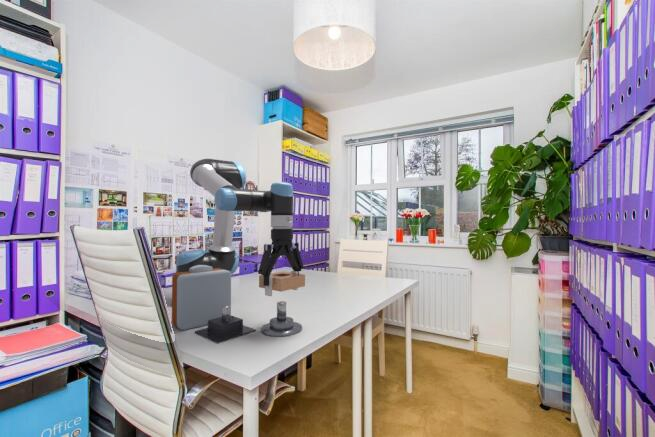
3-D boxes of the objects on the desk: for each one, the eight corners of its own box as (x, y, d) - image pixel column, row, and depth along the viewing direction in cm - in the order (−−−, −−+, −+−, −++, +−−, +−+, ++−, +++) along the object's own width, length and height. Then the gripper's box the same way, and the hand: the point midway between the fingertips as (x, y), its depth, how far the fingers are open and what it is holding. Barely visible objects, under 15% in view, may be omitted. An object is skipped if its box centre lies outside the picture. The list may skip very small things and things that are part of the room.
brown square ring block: (259, 287, 106) (259, 275, 106) (283, 282, 114) (283, 271, 114) (280, 291, 99) (280, 278, 99) (305, 286, 107) (305, 274, 107)
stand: (194, 332, 103) (194, 306, 103) (231, 322, 113) (231, 298, 114) (217, 343, 94) (217, 315, 94) (255, 331, 104) (255, 305, 105)
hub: (252, 329, 106) (252, 303, 106) (283, 319, 116) (283, 295, 117) (279, 339, 97) (279, 310, 97) (310, 328, 108) (310, 301, 108)
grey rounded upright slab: (221, 314, 123) (221, 262, 123) (231, 319, 117) (232, 264, 117) (171, 325, 110) (171, 267, 110) (180, 331, 104) (180, 269, 104)
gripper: (261, 228, 95) (261, 300, 95) (313, 227, 113) (313, 288, 113) (246, 228, 100) (246, 297, 100) (298, 227, 118) (298, 285, 118)
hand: (282, 292), depth 107 cm, fingers closed on brown square ring block, 11 cm apart
